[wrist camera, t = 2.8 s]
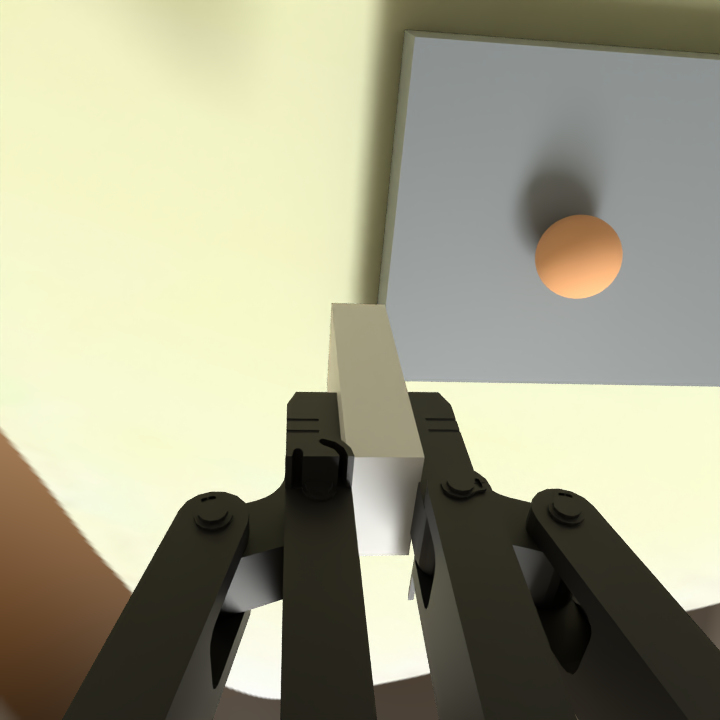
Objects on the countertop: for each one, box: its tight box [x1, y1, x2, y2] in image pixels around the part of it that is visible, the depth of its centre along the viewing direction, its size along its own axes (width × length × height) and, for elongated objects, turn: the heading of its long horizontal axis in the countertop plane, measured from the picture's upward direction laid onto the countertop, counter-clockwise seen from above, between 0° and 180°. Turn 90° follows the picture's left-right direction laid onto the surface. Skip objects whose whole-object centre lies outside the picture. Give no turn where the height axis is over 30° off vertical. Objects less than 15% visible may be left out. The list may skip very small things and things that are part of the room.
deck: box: [377, 30, 720, 387], centre depth 28 cm, size 28×14×2 cm, turn 86°
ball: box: [535, 215, 623, 299], centre depth 24 cm, size 3×3×3 cm
